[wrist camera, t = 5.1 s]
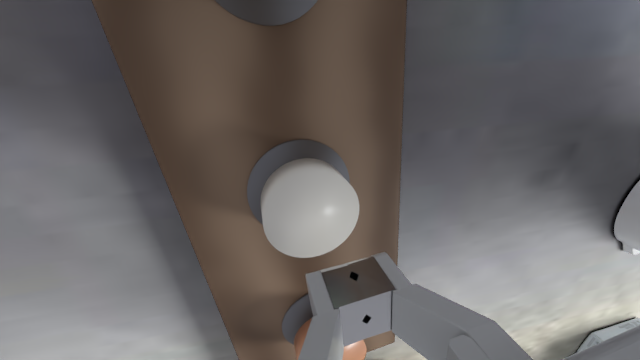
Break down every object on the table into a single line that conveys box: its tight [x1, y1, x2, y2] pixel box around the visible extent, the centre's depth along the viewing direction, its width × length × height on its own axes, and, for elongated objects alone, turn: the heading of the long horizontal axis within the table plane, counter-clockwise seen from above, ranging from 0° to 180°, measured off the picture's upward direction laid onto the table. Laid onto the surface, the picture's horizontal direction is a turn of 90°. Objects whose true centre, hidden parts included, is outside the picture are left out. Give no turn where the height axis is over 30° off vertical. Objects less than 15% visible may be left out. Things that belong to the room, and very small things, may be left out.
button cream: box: [261, 158, 359, 258], centre depth 13 cm, size 5×5×2 cm
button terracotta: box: [294, 318, 367, 360], centre depth 18 cm, size 5×5×2 cm
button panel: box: [92, 0, 407, 360], centre depth 17 cm, size 14×38×3 cm, turn 6°
